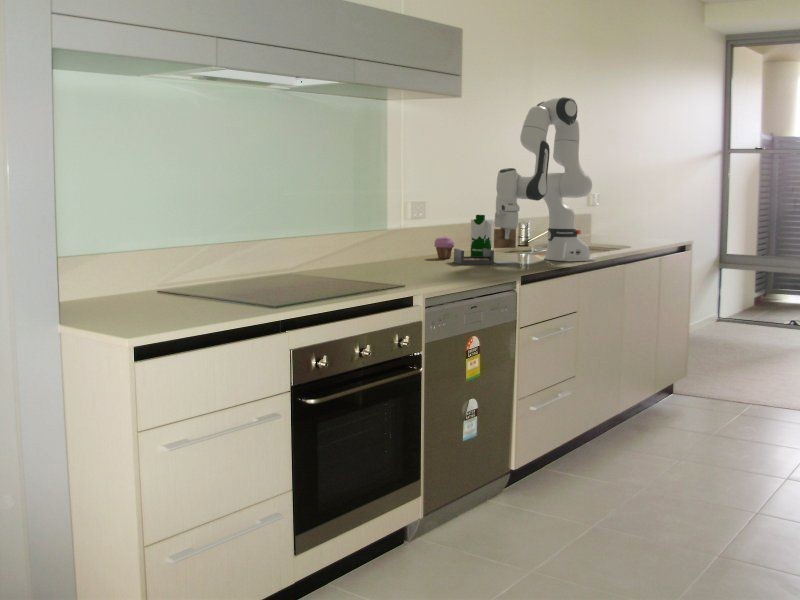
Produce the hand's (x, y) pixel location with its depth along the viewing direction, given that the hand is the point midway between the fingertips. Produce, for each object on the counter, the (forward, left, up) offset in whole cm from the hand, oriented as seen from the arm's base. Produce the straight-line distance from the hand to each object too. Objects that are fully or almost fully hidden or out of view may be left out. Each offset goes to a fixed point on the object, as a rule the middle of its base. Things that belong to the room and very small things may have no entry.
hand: (504, 238), depth 379 cm
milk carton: (+5, -18, -11) cm, 22 cm away
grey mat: (0, 0, -11) cm, 11 cm away
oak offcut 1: (+17, +2, -11) cm, 20 cm away
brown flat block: (0, 0, -4) cm, 4 cm away
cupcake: (+21, -23, -11) cm, 33 cm away
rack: (+14, 0, -11) cm, 17 cm away
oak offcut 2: (+11, +2, -11) cm, 16 cm away
